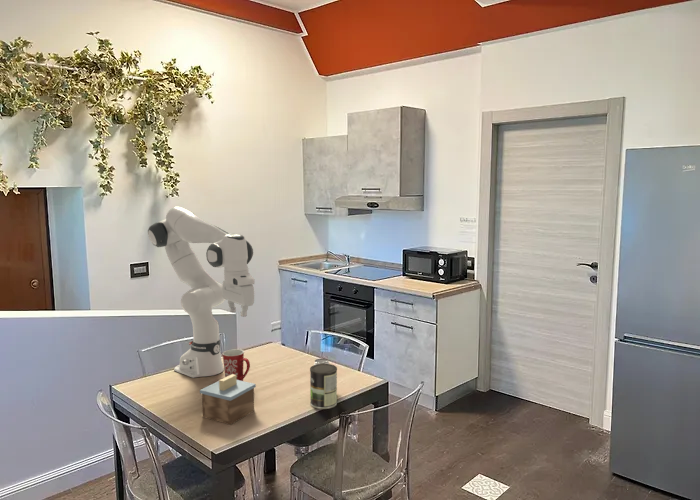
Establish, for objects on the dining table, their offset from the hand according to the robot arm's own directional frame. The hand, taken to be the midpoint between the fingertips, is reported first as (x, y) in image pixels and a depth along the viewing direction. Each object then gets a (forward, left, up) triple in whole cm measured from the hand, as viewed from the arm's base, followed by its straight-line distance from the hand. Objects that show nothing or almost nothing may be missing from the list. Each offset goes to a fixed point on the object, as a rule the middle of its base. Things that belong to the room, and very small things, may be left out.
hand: (238, 314), depth 197 cm
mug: (-13, +14, -35) cm, 40 cm away
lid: (+2, -10, -27) cm, 29 cm away
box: (+3, -10, -35) cm, 36 cm away
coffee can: (+28, +14, -35) cm, 47 cm away
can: (+21, +26, -35) cm, 48 cm away
